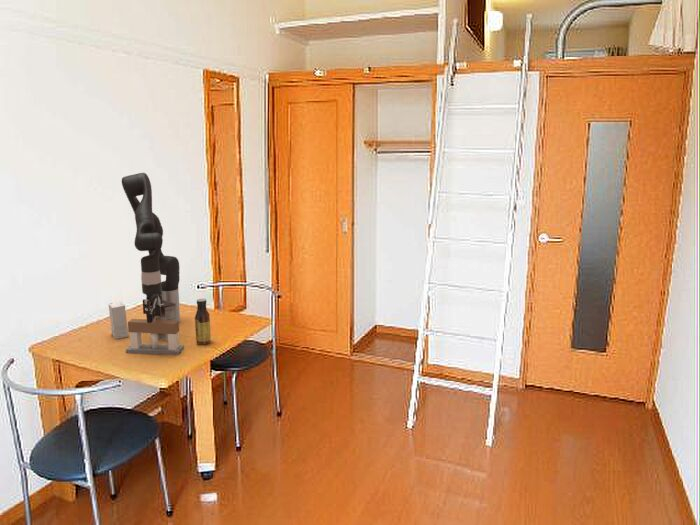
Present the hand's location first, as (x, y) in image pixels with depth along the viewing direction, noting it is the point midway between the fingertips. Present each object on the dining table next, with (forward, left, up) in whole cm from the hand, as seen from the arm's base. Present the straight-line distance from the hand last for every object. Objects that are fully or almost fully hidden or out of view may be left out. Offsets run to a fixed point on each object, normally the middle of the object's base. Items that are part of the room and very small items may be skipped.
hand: (154, 319), depth 222 cm
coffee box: (-16, -2, -14) cm, 21 cm away
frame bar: (0, 0, -6) cm, 6 cm away
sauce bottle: (-11, +17, -14) cm, 25 cm away
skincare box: (-16, -23, -14) cm, 32 cm away
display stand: (0, 0, -14) cm, 14 cm away
